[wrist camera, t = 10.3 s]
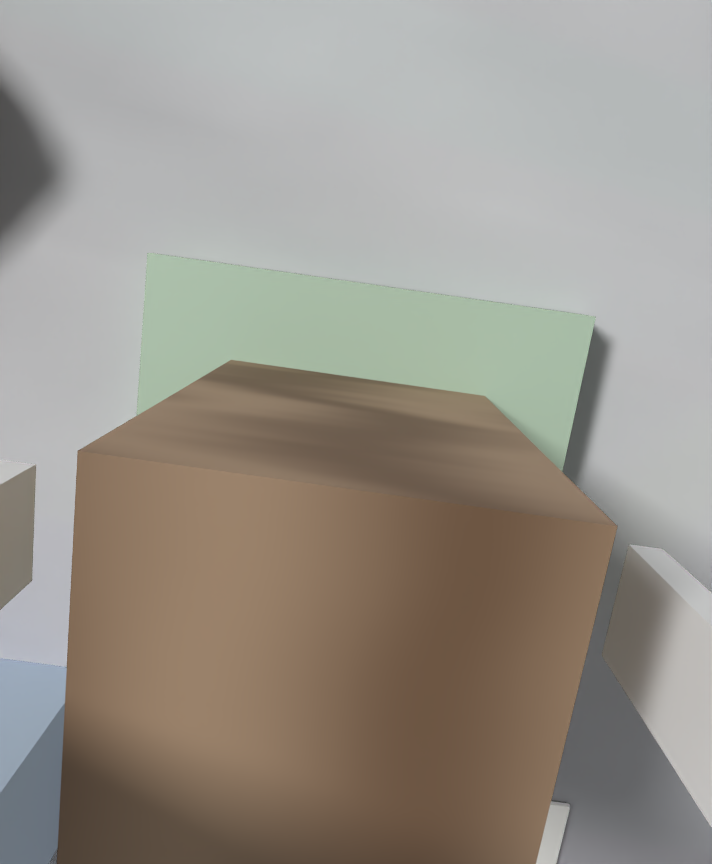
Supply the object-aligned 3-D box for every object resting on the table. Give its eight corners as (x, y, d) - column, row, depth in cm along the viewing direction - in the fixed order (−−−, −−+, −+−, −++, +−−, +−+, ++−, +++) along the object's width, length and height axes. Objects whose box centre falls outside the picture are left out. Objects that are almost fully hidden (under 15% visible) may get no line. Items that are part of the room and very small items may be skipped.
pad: (133, 637, 22) (119, 658, 20) (161, 254, 19) (147, 252, 18) (502, 687, 22) (510, 710, 21) (581, 314, 19) (595, 316, 18)
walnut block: (207, 594, 20) (54, 897, 10) (231, 359, 18) (77, 451, 9) (441, 625, 20) (513, 955, 10) (484, 395, 18) (617, 526, 9)
